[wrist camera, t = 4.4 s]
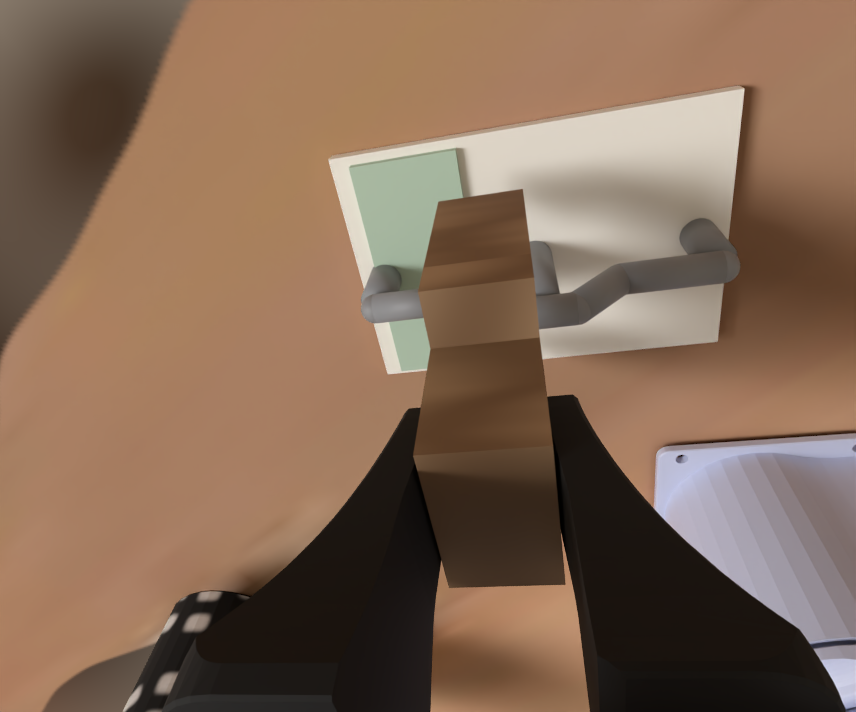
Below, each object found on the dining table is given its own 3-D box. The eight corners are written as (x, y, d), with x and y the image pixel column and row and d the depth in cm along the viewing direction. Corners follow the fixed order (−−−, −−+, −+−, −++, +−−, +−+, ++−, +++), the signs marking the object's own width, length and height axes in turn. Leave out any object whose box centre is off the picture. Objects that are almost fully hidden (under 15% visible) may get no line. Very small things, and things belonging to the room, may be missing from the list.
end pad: (455, 147, 19) (455, 150, 19) (488, 358, 23) (488, 362, 23) (350, 165, 19) (348, 167, 19) (402, 366, 24) (401, 371, 24)
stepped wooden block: (522, 188, 17) (546, 376, 9) (541, 380, 21) (569, 624, 13) (438, 201, 17) (395, 391, 10) (471, 386, 21) (459, 626, 13)
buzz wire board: (738, 85, 17) (814, 123, 13) (713, 334, 22) (763, 419, 18) (331, 155, 20) (289, 206, 16) (389, 367, 25) (368, 448, 21)
